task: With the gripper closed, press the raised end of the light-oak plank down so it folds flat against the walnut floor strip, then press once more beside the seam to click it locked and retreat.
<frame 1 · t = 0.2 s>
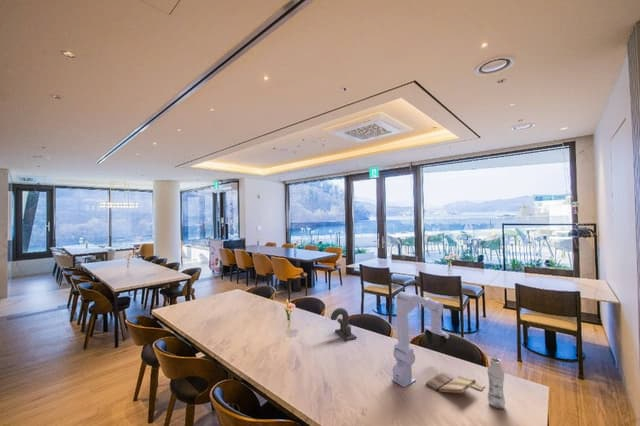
hand: (436, 346, 155), 10 cm above the table, fingers open, 7 cm apart
plastic bottle: (496, 406, 120), on the table
oak plank: (456, 385, 130), point 3 cm above the table, hinge at 25.0°
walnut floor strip: (439, 383, 137), on the table
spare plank: (469, 384, 137), on the table
faucet: (341, 336, 193), on the table
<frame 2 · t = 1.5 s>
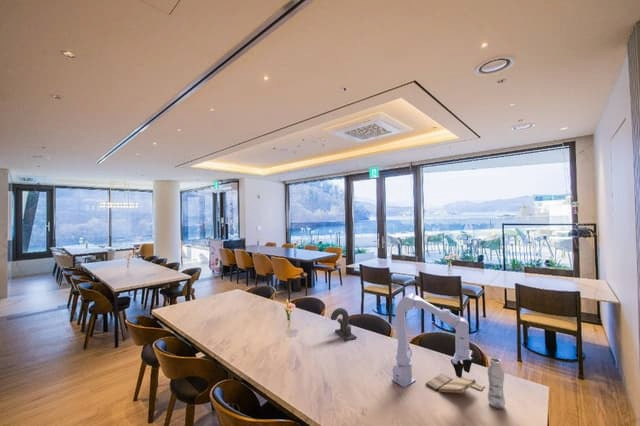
hand: (462, 374, 128), 10 cm above the table, fingers open, 6 cm apart
nothing on the table moved.
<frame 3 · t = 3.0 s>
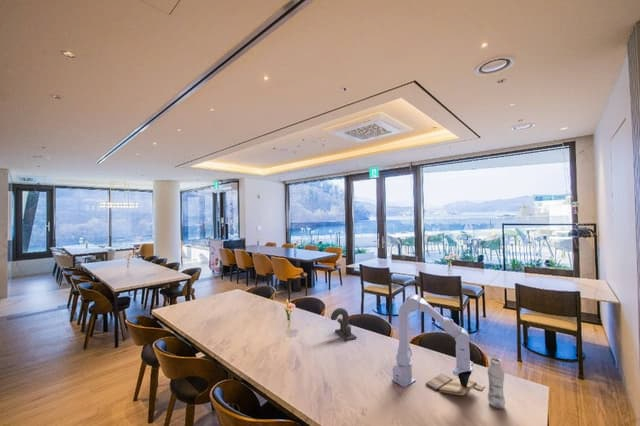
hand: (464, 385, 127), 5 cm above the table, fingers closed, pressing on oak plank
oak plank: (457, 386, 130), point 3 cm above the table, hinge at 19.9°, touching gripper
everything else where it was.
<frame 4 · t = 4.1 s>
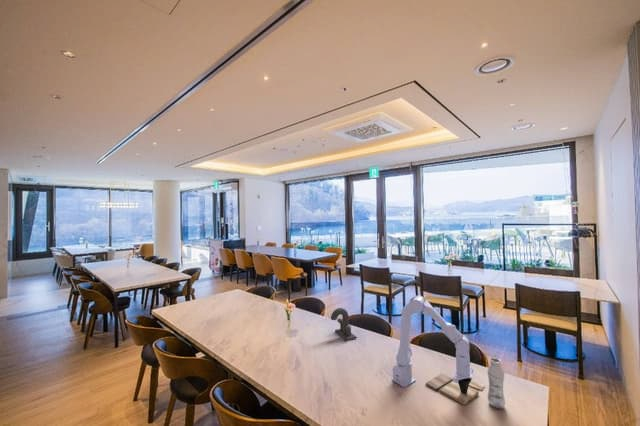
hand: (463, 392, 127), 1 cm above the table, fingers closed, pressing on oak plank
oak plank: (458, 391, 129), point 1 cm above the table, hinge at 2.5°, touching gripper
everything else where it was.
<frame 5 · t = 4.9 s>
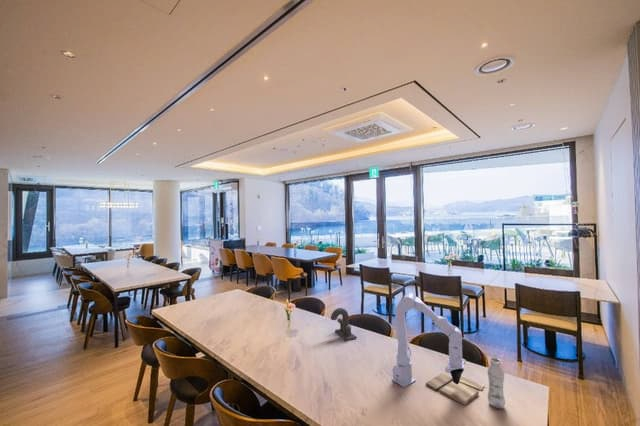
hand: (456, 382, 130), 4 cm above the table, fingers closed
oak plank: (458, 391, 129), point 1 cm above the table, hinge at 2.5°
everything else where it was.
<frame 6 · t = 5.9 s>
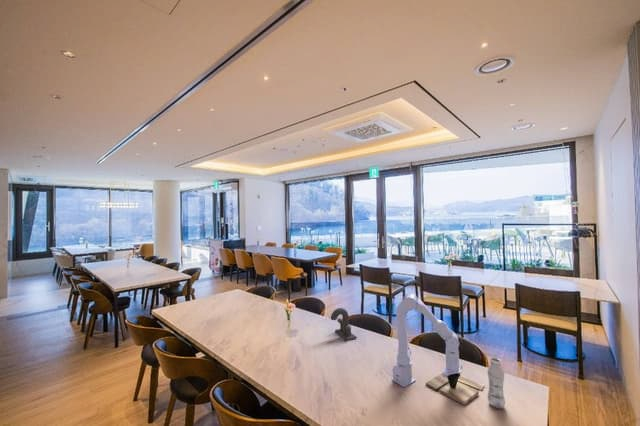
hand: (452, 387, 131), 1 cm above the table, fingers closed, pressing on oak plank
oak plank: (458, 391, 129), point 1 cm above the table, hinge at 2.5°, touching gripper
everything else where it was.
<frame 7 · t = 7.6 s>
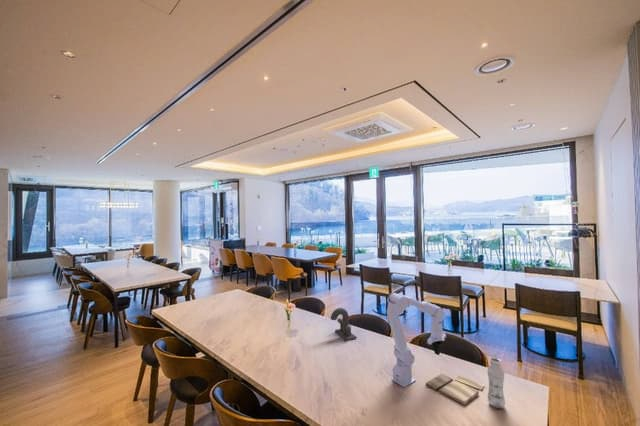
hand: (437, 354, 147), 10 cm above the table, fingers closed
oak plank: (458, 391, 129), point 1 cm above the table, hinge at 2.5°
everything else where it was.
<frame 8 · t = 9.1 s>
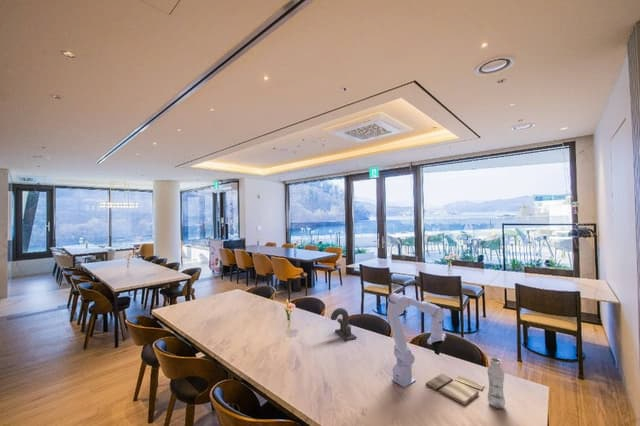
hand: (437, 353, 147), 10 cm above the table, fingers closed
nothing on the table moved.
at the end: oak plank at +2° (first picture: +25°); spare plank moved 0.6 cm from its start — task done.
